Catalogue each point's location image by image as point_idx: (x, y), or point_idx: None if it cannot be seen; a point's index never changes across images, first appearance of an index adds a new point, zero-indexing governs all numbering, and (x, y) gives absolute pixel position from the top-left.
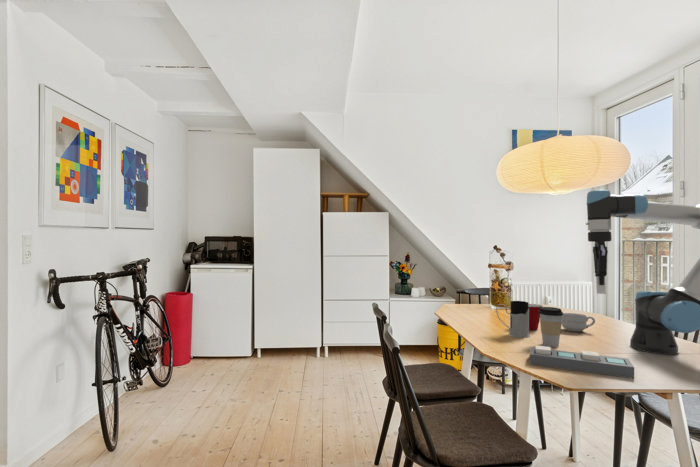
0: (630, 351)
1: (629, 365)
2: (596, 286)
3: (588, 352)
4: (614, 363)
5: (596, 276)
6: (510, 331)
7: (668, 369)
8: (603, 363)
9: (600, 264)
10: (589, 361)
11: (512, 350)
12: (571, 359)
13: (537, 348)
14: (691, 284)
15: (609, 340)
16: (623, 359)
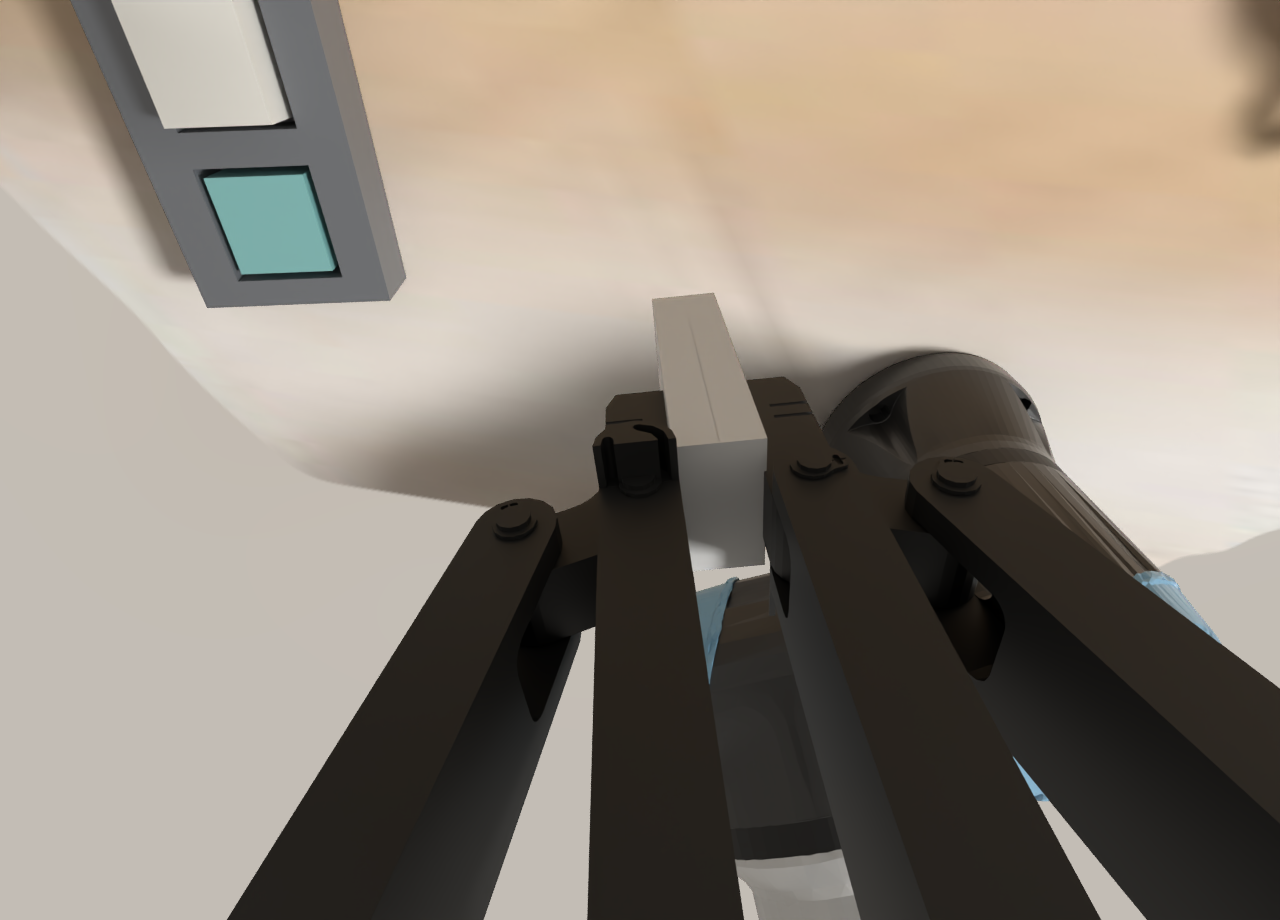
0: (818, 336)
1: (226, 289)
2: (726, 335)
3: (212, 50)
4: (197, 212)
5: (724, 438)
6: None
7: (530, 442)
8: (135, 143)
9: (343, 787)
10: (96, 46)
11: None
12: None
13: None
14: None
15: (1087, 252)
16: (346, 274)
